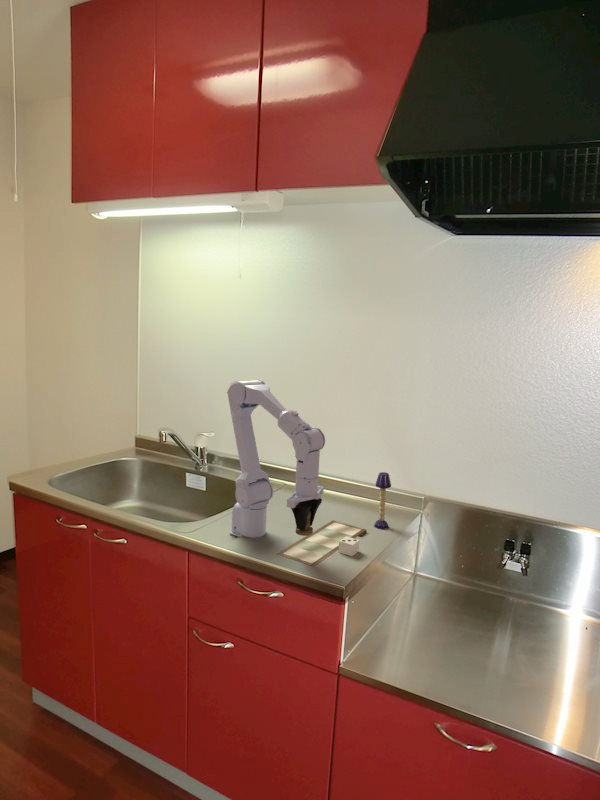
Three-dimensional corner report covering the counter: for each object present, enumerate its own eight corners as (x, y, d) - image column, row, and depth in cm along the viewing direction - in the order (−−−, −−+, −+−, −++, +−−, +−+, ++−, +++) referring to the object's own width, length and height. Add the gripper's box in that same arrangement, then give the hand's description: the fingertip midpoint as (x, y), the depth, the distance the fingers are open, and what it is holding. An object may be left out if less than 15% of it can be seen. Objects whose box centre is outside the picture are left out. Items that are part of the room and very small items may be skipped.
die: (338, 555, 138) (339, 540, 137) (345, 550, 141) (346, 536, 141) (351, 559, 136) (352, 544, 135) (358, 554, 139) (359, 539, 139)
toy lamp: (370, 526, 158) (374, 473, 156) (375, 521, 162) (379, 470, 160) (385, 530, 156) (389, 476, 154) (390, 525, 160) (394, 472, 158)
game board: (276, 556, 135) (276, 553, 135) (332, 522, 160) (332, 520, 160) (313, 569, 129) (313, 566, 129) (366, 532, 154) (366, 529, 154)
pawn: (292, 532, 134) (293, 508, 133) (301, 527, 137) (302, 504, 136) (306, 537, 131) (308, 512, 130) (315, 531, 135) (317, 508, 134)
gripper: (305, 486, 124) (302, 540, 126) (334, 473, 136) (331, 522, 138) (280, 480, 128) (278, 532, 130) (311, 467, 140) (309, 516, 142)
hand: (304, 526), depth 134 cm, fingers closed on pawn, 3 cm apart
